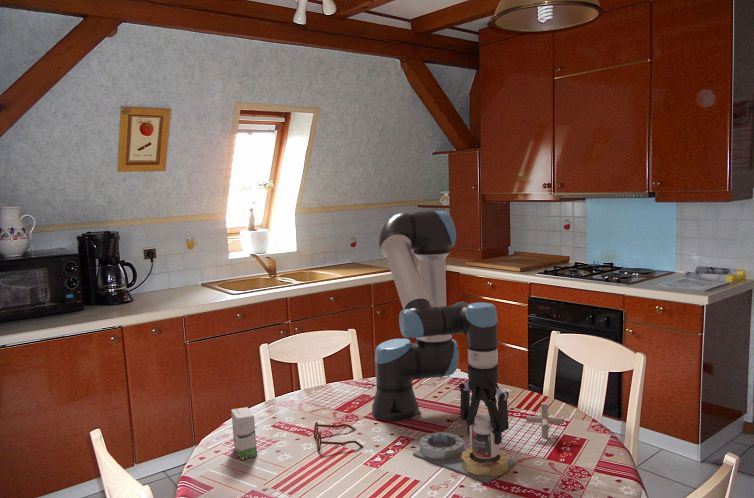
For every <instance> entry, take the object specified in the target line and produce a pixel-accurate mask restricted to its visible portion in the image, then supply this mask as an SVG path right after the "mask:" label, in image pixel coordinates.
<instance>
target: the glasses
mask: <svg viewBox="0 0 754 498" xmlns="http://www.w3.org/2000/svg"><path fill="white" fill-rule="evenodd" d="M319 427H321V428H332V429H334V428H335V429H336V428H338V429H339V428H341V427H342V428H343V427H347V428H349V429H351V430H353V431H355V430H354V429H356V428H355V427H354V426H352V425H350V424H347V423H346V424H343V423H342V424H338V425H335V424H322V423H321V424H319V422H318V421H315V423H314V427H313V428H314V429H313V438H315V440H316V439H317V441H316V450H317V452H320V451H321V447H322V445H333V446H336V445H337V446H345V445H347V444H356V445H357V446H358V447H360V448H365V447H364V446H363V444H361V443H360V442H358V441H357V440H347V441H343V442H341V441H340V442H339V441H324V440H322V433H321V432H320V431H319Z"/></svg>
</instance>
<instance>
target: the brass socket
mask: <svg viewBox="0 0 754 498" xmlns="http://www.w3.org/2000/svg"><path fill="white" fill-rule="evenodd" d="M476 459H480V458H477V457H476V456H475V455H474V454H473V450H470V448H468V449H467V450H465V451H463V452H462V456H461V467H462V468H463V469H464V470H465V471H466V472H467V473H470V474H473V475H475V476H482V477H493V476H497V477H500V476H502V475H503V474H505V473H506V472H508V471H509V469H508V460H509V454H507V453H506V451H504V450H503V449H500V448H499V454H498V455H497V456H495V457H493V458H490V459H492V460H495V461H497V462H494V463H489V464H486V463H478V462H475V461H473V460H476Z"/></svg>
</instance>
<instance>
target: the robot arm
mask: <svg viewBox="0 0 754 498" xmlns="http://www.w3.org/2000/svg"><path fill="white" fill-rule="evenodd" d="M456 242H457V232H456V226H455V223H454V220H453V218H452V216H451V215H450V214H449V213H448V212H447V211H444V210H427V211H426V210H425V211H424V210H423V211H411V212H410V211H409V212H408V211H407V212H399V213H396V214H394V215H393V216H391V217H390V218H389V219H388V220H386V221H385V223H384V224H383V226H382V227H381V230H380V234H379V236H378V244H379V246H378V247H379V249H380V253H381V255H382V256H383V257H384V258H386V260H387V264H388V267H389V269H390V272H391V275H392V279H393V282H394V284H395V288H396V291H397V294H398V296H399V301H400V303H401V306H402V310H401V311H400V312H399V316H398V324H399V331H400V333H401V335H402V337H403V338H393V339H389V340H386V341H383V342H381V343H380V344H378V345H377V346H376V347H375V351H374V353H375V357H374V363H375V379H376V392H375V394H374V399H373V403H372V405H371V412H372V413H371V414H372V416H373V417H374V418H376V419H378V420H381V421H385V422H387V421H388V422H400V421H402V422H403V421H408V420H411V419H413V418H416V417H417V415H419V413H420V410H419V403H418V401H417V399H416V395H415V392H414V391H415V390H414V389H413V381H414V380H424V379H434V378H443V377H446V376H447V377H448V376H452V375H453V374H454V373H455V372H457V368H458V366H459V361H460V352H459V351H460V350H459V345H458V343H457V341H456V339H453V336H452V335H457V334H459V335H460V334H465V335H466V341H467V345H466V346H467V363H468V365H467V379H468V381H463V382H461V383H459V384H458V387H459V391H460V409H459V410H460V414H459V415H460V420H461V421H464V422H465V423H466V425H467V427H466V430H467V436H469V447H470V450H473V426H474V425H475V417H476V416H477V415H478V411H479V407H480V404H481V403H480V402H481V401H483V402H484V405H485V407H486V409H487V411H488V415H489V416H490V420H491V424H492V428H493V431H491V457H495V456H497V455H498V454H499V449H500V444H501V443H503V441H502V440H503V438H502V434H503V433H504V432H506V431H507V430H509V428H510V426H509V425H510V424H509V409H508V398H509V396H510V395H509V394H510V393H509V392H508V391H504V390H501V389H500V388H499V385H498V381H499V380H498V379H499V366H498V363H499V359H498V355H499V354H498V352H499V351H498V320H499V319H498V315H497V314H498V313H497V307H496V305H494V304H493V303H491V302H490V303H488V302H482V301H481V302H473V303H470V302H466V301H459V302H456V303H454V304H453V305H448V306H447V279H446V277H447V276H446V275H447V274H446V258H447V256H449V254H450V253H451V251H450V250H451V248H452V247H454V246H455V244H456ZM412 250H413V252H412ZM413 255H414V256H415V257H416V258H417V260H418V266H417V264H416V261H415V258H414V256H413ZM410 339H415V342H411V340H410ZM496 396H497V397H496Z"/></svg>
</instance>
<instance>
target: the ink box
mask: <svg viewBox="0 0 754 498" xmlns="http://www.w3.org/2000/svg"><path fill="white" fill-rule="evenodd" d="M231 423H232V435H233V448H234V447H235V449H236V450H235V449H234V450H235V452H236V451H237V452H236V454H237V453H238V454H237V455H238V457H239V456H240V457H239V458H241V459H242V458H246V457H250V458H253V456H254V457H256V455H257V456H258V448H257V438H256V436H257V435H256V424H255V415H254V414H253V413H252V412H251V410H250V408H249V407H248V406H245V407H240V408H232V409H231ZM241 459H240V460H241ZM246 459H247V458H246ZM242 460H243V459H242Z"/></svg>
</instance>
